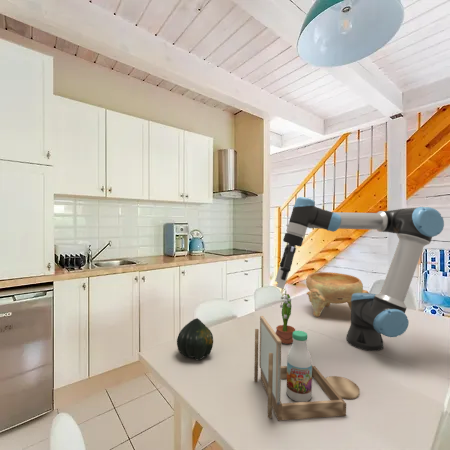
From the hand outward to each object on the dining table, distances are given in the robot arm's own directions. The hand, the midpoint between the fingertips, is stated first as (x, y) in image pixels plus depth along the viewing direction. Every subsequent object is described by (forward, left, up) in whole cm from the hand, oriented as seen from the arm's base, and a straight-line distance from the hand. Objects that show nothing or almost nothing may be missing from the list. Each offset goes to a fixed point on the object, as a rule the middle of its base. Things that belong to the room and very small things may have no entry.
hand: (278, 284), depth 108 cm
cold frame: (0, +23, -30) cm, 38 cm away
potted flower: (-9, -15, -30) cm, 35 cm away
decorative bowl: (-50, -51, -30) cm, 77 cm away
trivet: (-15, +21, -30) cm, 40 cm away
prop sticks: (+12, +23, -30) cm, 40 cm away
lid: (+10, +23, -26) cm, 36 cm away
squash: (+33, -6, -30) cm, 46 cm away
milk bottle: (0, +23, -30) cm, 38 cm away
